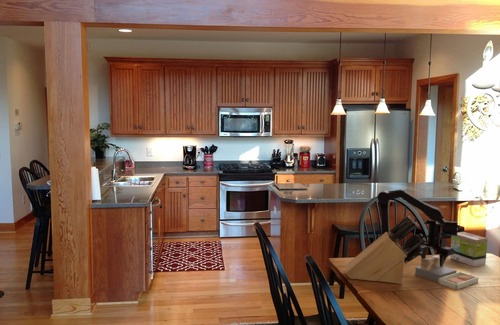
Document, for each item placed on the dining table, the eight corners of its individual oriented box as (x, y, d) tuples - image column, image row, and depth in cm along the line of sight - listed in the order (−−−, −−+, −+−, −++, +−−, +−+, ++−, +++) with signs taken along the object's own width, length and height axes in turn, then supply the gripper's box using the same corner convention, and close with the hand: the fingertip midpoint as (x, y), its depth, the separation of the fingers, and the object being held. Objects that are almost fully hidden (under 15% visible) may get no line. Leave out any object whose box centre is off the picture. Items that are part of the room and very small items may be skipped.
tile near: (448, 279, 194) (448, 283, 194) (458, 283, 189) (458, 287, 189) (454, 277, 196) (454, 281, 196) (464, 281, 192) (464, 285, 192)
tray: (456, 290, 187) (456, 284, 187) (438, 283, 195) (438, 278, 194) (477, 282, 197) (478, 277, 197) (459, 276, 205) (459, 271, 204)
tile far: (457, 276, 197) (457, 281, 197) (467, 278, 193) (467, 282, 193) (462, 274, 200) (463, 279, 200) (473, 276, 196) (473, 280, 196)
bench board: (439, 282, 196) (439, 275, 196) (415, 274, 207) (415, 267, 207) (456, 277, 204) (456, 270, 204) (431, 269, 215) (432, 262, 214)
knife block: (424, 287, 190) (427, 220, 188) (345, 279, 198) (347, 215, 196) (420, 278, 201) (423, 215, 198) (345, 271, 209) (347, 210, 207)
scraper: (426, 270, 202) (426, 260, 201) (420, 269, 204) (421, 259, 204) (443, 266, 209) (443, 256, 209) (437, 264, 212) (438, 254, 212)
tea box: (449, 258, 233) (450, 232, 232) (461, 256, 238) (463, 231, 236) (473, 267, 220) (475, 239, 218) (486, 264, 224) (488, 237, 223)
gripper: (461, 235, 202) (459, 267, 203) (426, 227, 218) (425, 256, 219) (448, 238, 196) (446, 271, 197) (413, 230, 211) (412, 260, 213)
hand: (432, 264), depth 207 cm, fingers open, 9 cm apart
